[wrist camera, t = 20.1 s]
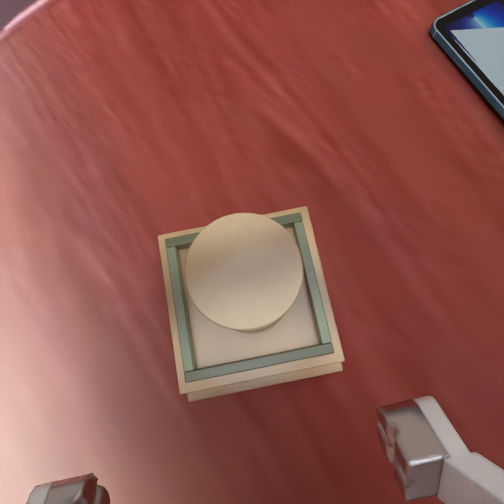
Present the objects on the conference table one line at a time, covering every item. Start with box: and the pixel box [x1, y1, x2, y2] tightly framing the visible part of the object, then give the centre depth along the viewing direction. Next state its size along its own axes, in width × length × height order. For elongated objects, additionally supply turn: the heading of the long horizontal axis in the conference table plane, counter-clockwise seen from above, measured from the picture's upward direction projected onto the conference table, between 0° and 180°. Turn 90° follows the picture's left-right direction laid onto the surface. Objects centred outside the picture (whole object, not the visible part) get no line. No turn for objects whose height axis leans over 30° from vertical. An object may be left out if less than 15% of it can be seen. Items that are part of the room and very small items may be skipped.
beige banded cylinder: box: [184, 213, 304, 333], centre depth 19 cm, size 5×5×8 cm
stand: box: [158, 206, 345, 402], centre depth 25 cm, size 12×11×6 cm
